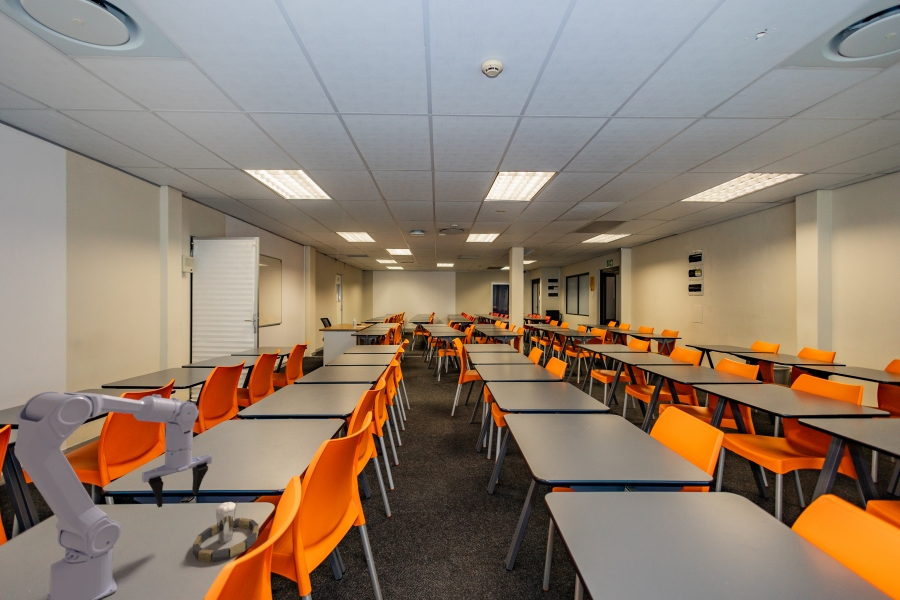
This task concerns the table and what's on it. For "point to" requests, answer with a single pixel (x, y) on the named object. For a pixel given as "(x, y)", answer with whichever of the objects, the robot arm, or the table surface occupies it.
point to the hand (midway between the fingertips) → (177, 499)
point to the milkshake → (225, 521)
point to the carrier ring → (228, 552)
